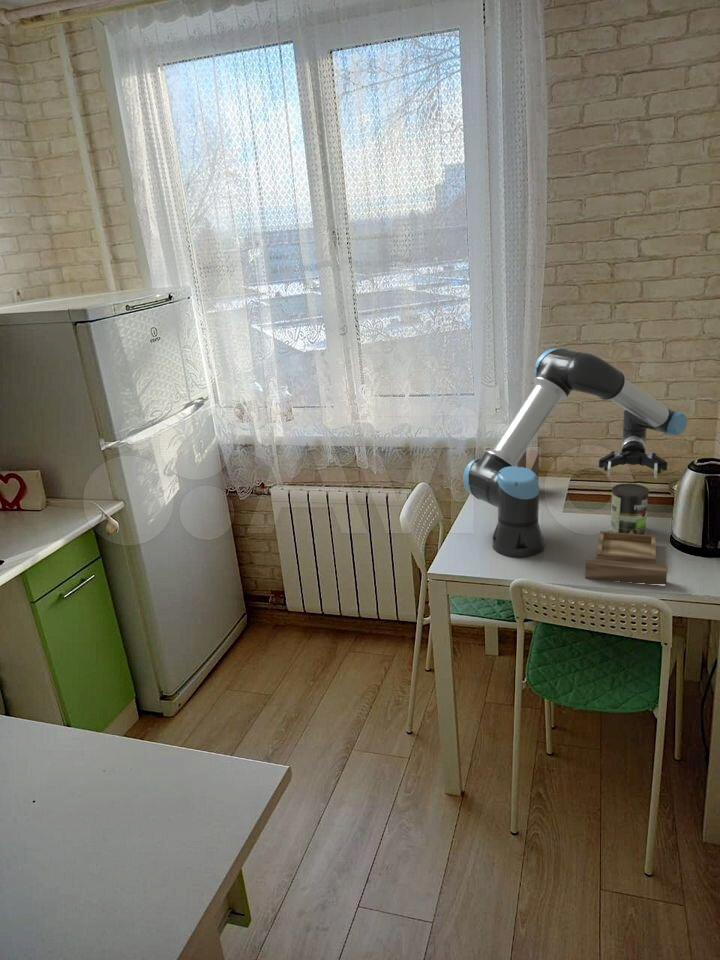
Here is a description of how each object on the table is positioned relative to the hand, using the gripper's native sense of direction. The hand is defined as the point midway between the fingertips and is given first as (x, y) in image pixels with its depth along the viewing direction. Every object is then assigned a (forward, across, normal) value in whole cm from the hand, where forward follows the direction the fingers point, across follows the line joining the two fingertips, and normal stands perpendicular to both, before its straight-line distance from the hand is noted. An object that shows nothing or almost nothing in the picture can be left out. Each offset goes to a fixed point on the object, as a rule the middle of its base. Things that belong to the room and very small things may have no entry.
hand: (631, 473), depth 219 cm
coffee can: (+10, 0, -16) cm, 19 cm away
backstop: (+41, 0, -15) cm, 44 cm away
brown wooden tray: (+26, 0, -15) cm, 30 cm away
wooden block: (-15, +34, -15) cm, 41 cm away
